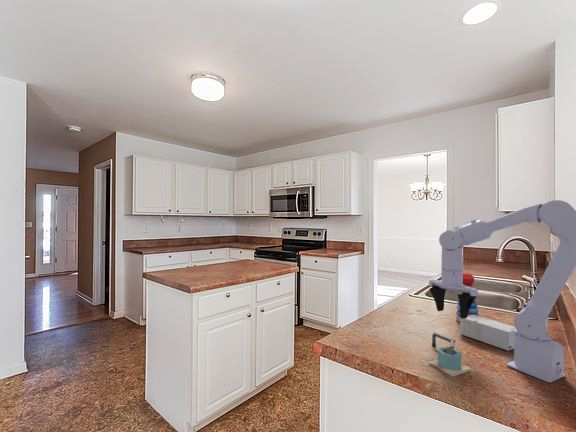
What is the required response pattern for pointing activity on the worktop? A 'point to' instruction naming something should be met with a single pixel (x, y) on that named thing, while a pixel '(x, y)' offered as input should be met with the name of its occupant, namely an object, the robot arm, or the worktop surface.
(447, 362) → the ring
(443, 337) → the handle
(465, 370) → the peg stand
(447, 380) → the worktop surface
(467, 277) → the stacking toy
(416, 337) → the worktop surface
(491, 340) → the skincare box
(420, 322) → the worktop surface
